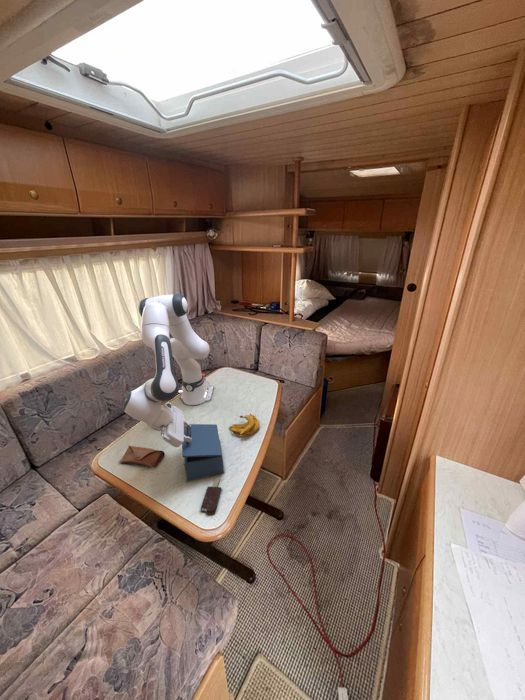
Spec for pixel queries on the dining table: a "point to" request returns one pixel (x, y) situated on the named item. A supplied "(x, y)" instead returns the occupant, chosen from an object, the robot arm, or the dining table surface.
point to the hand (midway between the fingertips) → (190, 433)
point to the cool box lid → (201, 441)
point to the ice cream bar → (211, 498)
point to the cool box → (203, 466)
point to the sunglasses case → (143, 456)
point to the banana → (246, 426)
